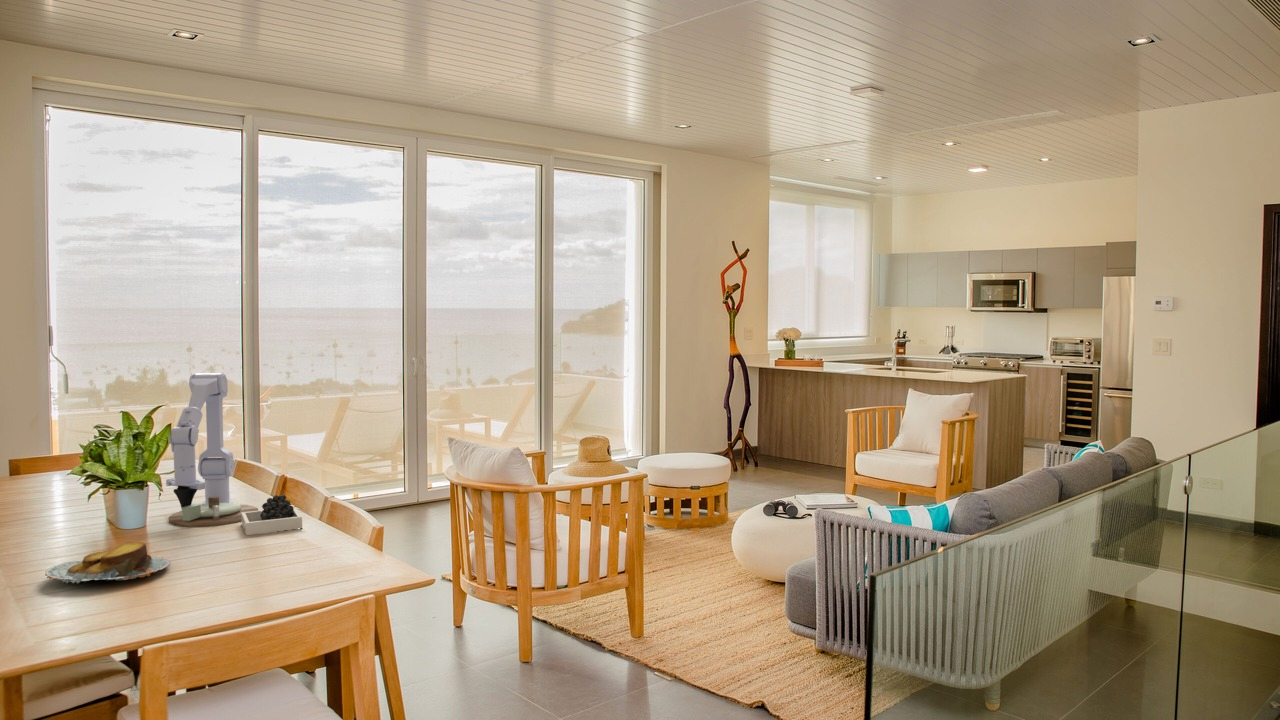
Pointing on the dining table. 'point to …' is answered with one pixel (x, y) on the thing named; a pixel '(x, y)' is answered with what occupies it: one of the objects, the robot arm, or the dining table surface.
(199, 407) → the robot arm
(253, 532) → the fruit frame
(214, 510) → the dowel
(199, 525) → the base board
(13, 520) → the dining table surface
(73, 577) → the food on plate
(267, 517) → the fruit
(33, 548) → the dining table surface
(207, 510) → the flange plate
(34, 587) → the dining table surface
